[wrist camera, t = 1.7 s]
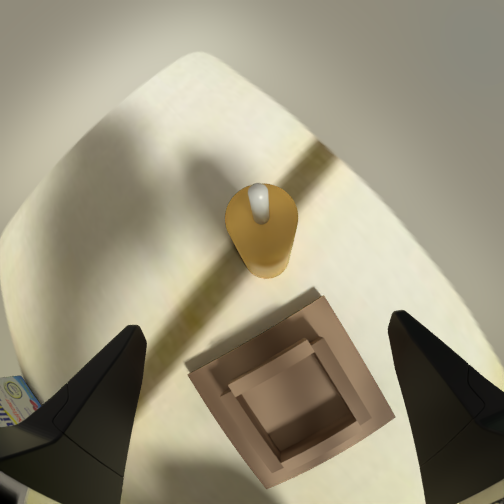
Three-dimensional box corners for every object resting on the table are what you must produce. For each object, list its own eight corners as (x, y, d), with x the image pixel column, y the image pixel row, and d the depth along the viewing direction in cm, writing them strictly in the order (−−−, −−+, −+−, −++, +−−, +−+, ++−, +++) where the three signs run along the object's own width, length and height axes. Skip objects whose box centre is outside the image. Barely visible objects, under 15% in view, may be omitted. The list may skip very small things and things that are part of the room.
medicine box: (63, 431, 22) (8, 454, 13) (49, 450, 21) (-3, 472, 13) (21, 373, 23) (-36, 379, 15) (9, 395, 23) (-44, 403, 14)
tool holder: (267, 483, 20) (265, 502, 17) (190, 372, 22) (178, 379, 19) (391, 413, 20) (405, 425, 17) (321, 296, 23) (328, 292, 20)
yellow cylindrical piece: (258, 287, 24) (241, 253, 11) (235, 249, 24) (198, 181, 12) (298, 263, 24) (320, 205, 12) (274, 226, 25) (272, 140, 12)
